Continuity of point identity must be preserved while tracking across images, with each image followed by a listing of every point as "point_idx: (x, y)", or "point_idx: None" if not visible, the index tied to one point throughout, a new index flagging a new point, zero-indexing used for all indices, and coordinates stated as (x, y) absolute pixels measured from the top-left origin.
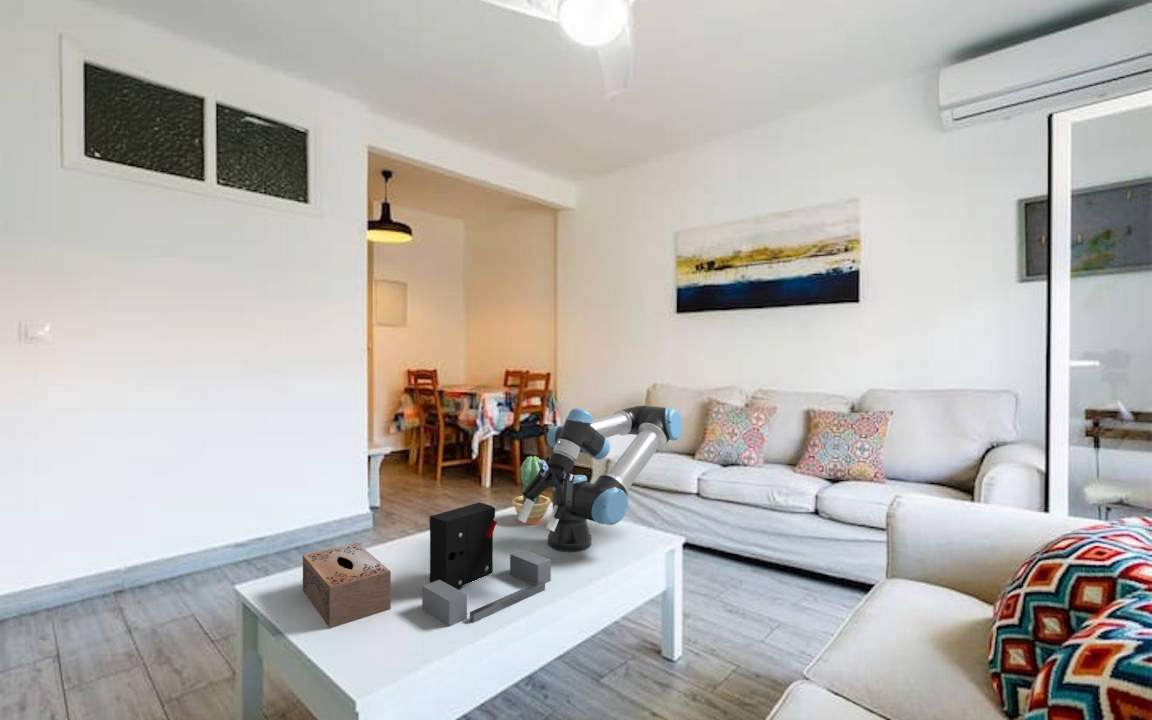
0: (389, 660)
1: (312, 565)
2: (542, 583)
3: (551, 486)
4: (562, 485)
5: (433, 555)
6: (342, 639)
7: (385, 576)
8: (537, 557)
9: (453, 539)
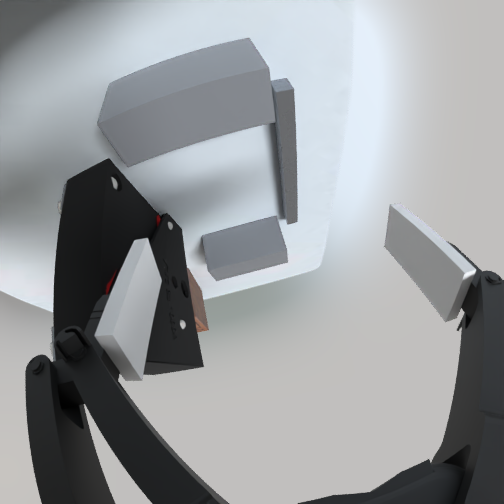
0: (292, 261)
1: None
2: (293, 96)
3: (334, 497)
4: (494, 460)
5: None
6: (229, 283)
7: (196, 313)
8: (210, 97)
9: (189, 322)
